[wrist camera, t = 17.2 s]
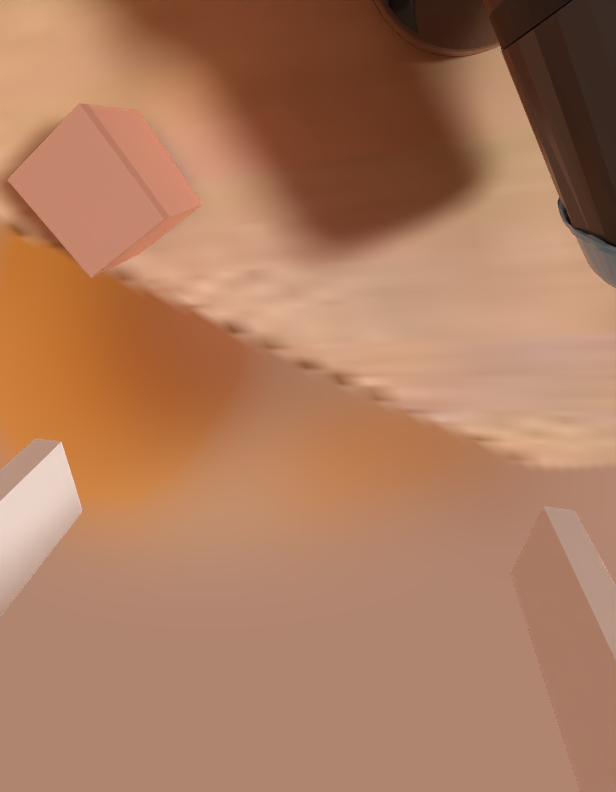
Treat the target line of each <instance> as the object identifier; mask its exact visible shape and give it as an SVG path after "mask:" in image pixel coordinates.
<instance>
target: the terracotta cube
mask: <svg viewBox="0 0 616 792" xmlns="http://www.w3.org/2000/svg"><path fill="white" fill-rule="evenodd" d="M7 180H8V182H9V183H10V184H11V185H12V186H13V187H14V189H15V190H16V191H17V192H18V193H19V194H20V196H21V197H22V198H23V199H24V200H25V201H26V203H27V204H28V205H29V206H30V207H31V208H32V210H33V211H34V212H35V213H36V214H37V216H38V217H39V218H40V219H41V220H42V221H43V223H44V224H45V225H46V226H47V227H48V228H49V230H50V231H51V232H52V233H53V234H54V235H55V237H56V238H57V239H58V240H59V241H60V242H61V244H62V245H63V246H64V247H65V248H66V250H67V251H68V252H69V253H70V254H71V255H72V257H73V258H74V259H75V260H76V261H77V262H78V264H79V265H80V266H81V267H82V268H83V269H84V271H85V272H86V273H87V274H88V275H89V276H90V278H91V277H93V276H96V275H98V274H100V273H102V272H104V271H106V270H108V269H110V268H112V267H114V266H116V265H118V264H120V263H122V262H124V261H126V260H128V259H130V258H132V257H134V256H136V255H138V254H140V253H141V252H142V251H144V250H145V249H146V248H147V247H149V246H150V245H151V244H153V243H154V242H155V241H156V240H158V239H159V238H160V237H161V236H163V235H164V234H165V233H167V232H168V231H169V230H170V229H172V228H173V227H174V226H176V225H177V224H178V223H179V222H181V221H182V220H183V219H185V218H186V217H187V216H188V215H190V214H191V213H192V212H193V211H195V210H196V209H197V208H199V207H200V206H201V205H202V203H201V201H200V200H199V199H198V197H197V196H196V194H195V193H194V191H193V190H192V188H191V187H190V185H189V184H188V183H187V181H186V180H185V178H184V177H183V175H182V174H181V172H180V171H179V169H178V168H177V166H176V165H175V164H174V162H173V161H172V159H171V158H170V156H169V155H168V153H167V152H166V150H165V149H164V148H163V146H162V145H161V143H160V142H159V140H158V139H157V137H156V136H155V134H154V133H153V131H152V130H151V129H150V127H149V126H148V124H147V123H146V121H145V120H144V118H143V117H142V115H141V114H140V112H139V111H135V110H127V109H120V108H112V107H104V106H96V105H88V104H80V103H79V104H78V105H77V106H76V107H75V108H74V110H73V111H72V112H71V113H70V114H69V115H68V116H67V117H66V118H65V119H64V120H63V121H62V122H61V123H60V124H59V125H58V126H57V127H56V129H55V130H54V131H53V132H52V133H51V134H50V135H49V136H48V137H47V138H46V139H45V140H44V141H43V142H42V143H41V144H40V145H39V146H38V148H37V149H36V150H35V151H34V152H33V153H32V154H31V155H30V156H29V157H28V158H27V159H26V160H25V161H24V162H23V163H22V164H21V165H20V167H19V168H18V169H17V170H16V171H15V172H14V173H13V174H12V175H11V176H10V177H9V178H8V179H7Z"/></svg>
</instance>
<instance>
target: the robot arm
mask: <svg viewBox="0 0 616 792" xmlns="http://www.w3.org/2000/svg"><path fill="white" fill-rule="evenodd" d="M373 1H374V3H375V5H376V6H377V8H378V10H379V12H380V13H381V15H382V16H383V18H384V19H385V20H386V21H387V23H388V24H389V25H390V26H391V27H392V28H393V30H394V31H395V32H396V33H398V34H399V35H400V36H401V37H402V38H403V39H405V40H406V41H407V42H409V43H411V44H412V45H414V46H416V47H418V48H420V49H422V50H424V51H427V52H430V53H433V54H437V55H443V56H467V55H473V54H478V53H482V52H485V51H488V50H491V49H493V48H496V47H498V46H501V50H502V51H501V52H502V55H503V57H504V60H505V62H506V65H507V67H508V70H509V72H510V75H511V77H512V80H513V82H514V85H515V87H516V90H517V92H518V95H519V97H520V100H521V102H522V105H523V107H524V110H525V112H526V115H527V117H528V120H529V122H530V125H531V127H532V130H533V132H534V135H535V137H536V140H537V142H538V145H539V147H540V150H541V152H542V155H543V157H544V160H545V162H546V165H547V167H548V170H549V172H550V175H551V177H552V180H553V182H554V185H555V187H556V190H557V192H558V195H559V200H558V208H559V212H560V215H561V218H562V220H563V222H564V223H565V225H566V226H567V227H568V228H569V229H570V231H571V232H572V234H574V235H575V236H576V238H577V240H578V243H579V245H580V247H581V249H582V251H583V253H584V256H585V258H586V260H587V262H588V264H589V265H590V267H591V268H592V270H593V271H594V272H595V273H597V274H598V275H599V276H600V277H601V278H602V279H603V280H604V281H605V282H606V283H608V284H609V285H611V286H612V287H614V288H616V0H373ZM82 511H83V510H82V507H81V504H80V500H79V497H78V494H77V491H76V487H75V484H74V481H73V478H72V474H71V471H70V468H69V465H68V461H67V458H66V455H65V452H64V449H63V446H62V442H60V441H53V440H45V439H38V438H35V439H34V440H33V441H32V442H31V443H30V444H29V445H28V446H27V447H25V448H24V449H23V450H22V451H21V452H20V453H19V454H18V455H16V456H15V457H14V458H13V459H12V460H11V461H10V462H9V463H7V464H6V465H5V466H4V467H3V468H2V469H1V470H0V617H1V616H2V614H3V613H4V612H5V610H6V609H7V608H8V607H9V605H10V604H11V603H12V601H13V600H14V599H15V598H16V596H17V595H18V594H19V592H20V591H21V590H22V589H23V587H24V586H25V585H26V583H27V582H28V581H29V580H30V578H31V577H32V576H33V574H34V573H35V572H36V571H37V569H38V568H39V567H40V565H41V564H42V563H43V562H44V560H45V559H46V558H47V556H48V555H49V554H50V553H51V551H52V550H53V549H54V547H55V546H56V545H57V543H58V542H59V541H60V540H61V538H62V537H63V536H64V535H65V533H66V532H67V531H68V529H69V528H70V527H71V526H72V524H73V523H74V522H75V520H76V519H77V518H78V517H79V515H80V514H81V513H82ZM510 574H511V577H512V580H513V583H514V587H515V590H516V593H517V596H518V599H519V603H520V605H521V609H522V612H523V615H524V618H525V621H526V624H527V628H528V631H529V634H530V637H531V640H532V643H533V646H534V650H535V653H536V656H537V659H538V662H539V665H540V668H541V671H542V675H543V678H544V681H545V684H546V687H547V690H548V694H549V697H550V700H551V703H552V706H553V709H554V712H555V715H556V719H557V722H558V725H559V728H560V731H561V734H562V737H563V740H564V744H565V746H566V750H567V753H568V756H569V759H570V763H571V765H572V769H573V772H574V775H575V778H576V781H577V784H578V788H579V791H580V792H616V585H615V584H614V582H613V580H612V578H611V576H610V574H609V572H608V571H607V569H606V567H605V565H604V563H603V561H602V560H601V558H600V556H599V554H598V552H597V550H596V549H595V547H594V545H593V544H592V541H591V540H590V538H589V536H588V534H587V532H586V530H585V529H584V527H583V525H582V523H581V521H580V519H579V518H578V516H577V514H576V512H575V511H574V510H568V509H561V508H553V507H546V506H544V507H543V509H542V511H541V513H540V515H539V517H538V519H537V521H536V523H535V525H534V527H533V529H532V531H531V533H530V535H529V537H528V539H527V541H526V543H525V545H524V547H523V549H522V551H521V553H520V555H519V557H518V559H517V561H516V563H515V565H514V567H513V569H512V571H511V573H510Z"/></svg>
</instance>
